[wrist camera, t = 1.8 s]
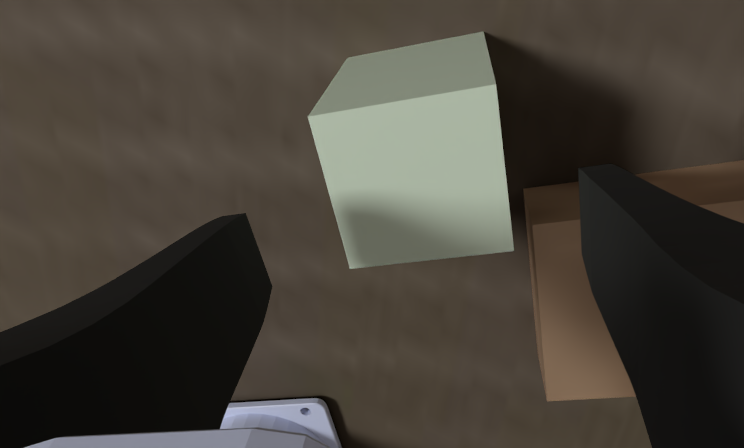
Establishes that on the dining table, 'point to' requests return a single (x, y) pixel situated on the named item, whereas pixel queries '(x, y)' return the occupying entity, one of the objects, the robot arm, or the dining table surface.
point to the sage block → (415, 154)
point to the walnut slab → (571, 285)
